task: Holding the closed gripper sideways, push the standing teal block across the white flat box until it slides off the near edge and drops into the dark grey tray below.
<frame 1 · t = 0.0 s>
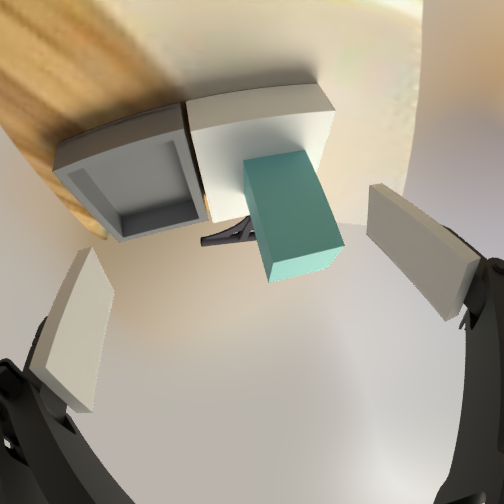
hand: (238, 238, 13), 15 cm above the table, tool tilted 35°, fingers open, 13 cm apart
white flat box: (253, 146, 30), on the table
block: (272, 173, 28), point 4 cm above the table, touching white flat box
tray: (140, 172, 28), on the table
bracket: (251, 212, 46), on the table
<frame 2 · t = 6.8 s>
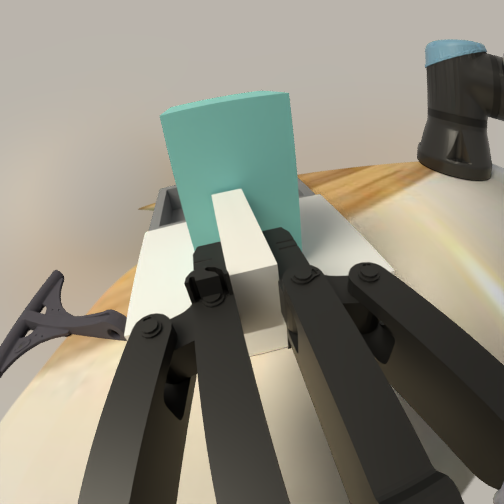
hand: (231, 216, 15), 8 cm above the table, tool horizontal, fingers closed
white flat box: (253, 290, 22), on the table
block: (246, 249, 20), point 4 cm above the table, touching gripper
tray: (231, 219, 33), on the table
bracket: (70, 334, 21), on the table
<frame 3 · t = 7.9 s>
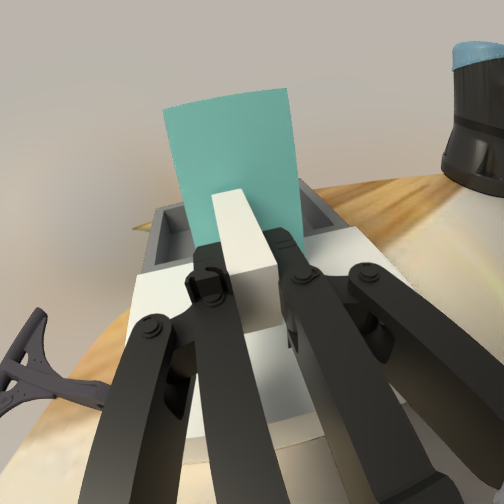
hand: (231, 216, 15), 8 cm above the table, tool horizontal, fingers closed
white flat box: (276, 355, 17), on the table
block: (248, 250, 20), point 4 cm above the table, touching gripper
tray: (242, 248, 27), on the table
bracket: (56, 393, 16), on the table
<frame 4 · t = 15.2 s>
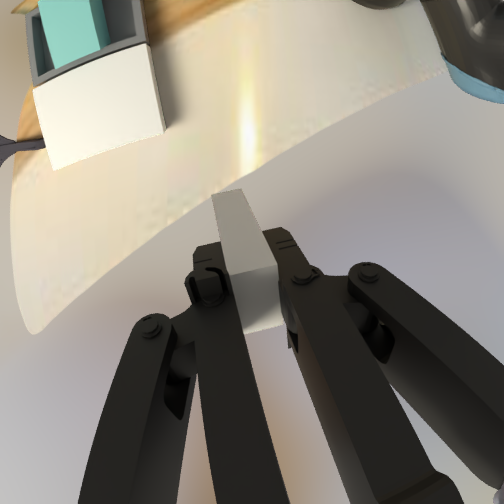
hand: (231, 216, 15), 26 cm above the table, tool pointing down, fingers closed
white flat box: (101, 105, 31), on the table
block: (84, 54, 24), point 3 cm above the table, tilted 72°, touching tray
tray: (87, 27, 24), on the table
bracket: (13, 146, 30), on the table
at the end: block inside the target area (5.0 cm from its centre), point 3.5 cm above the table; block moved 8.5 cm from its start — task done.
